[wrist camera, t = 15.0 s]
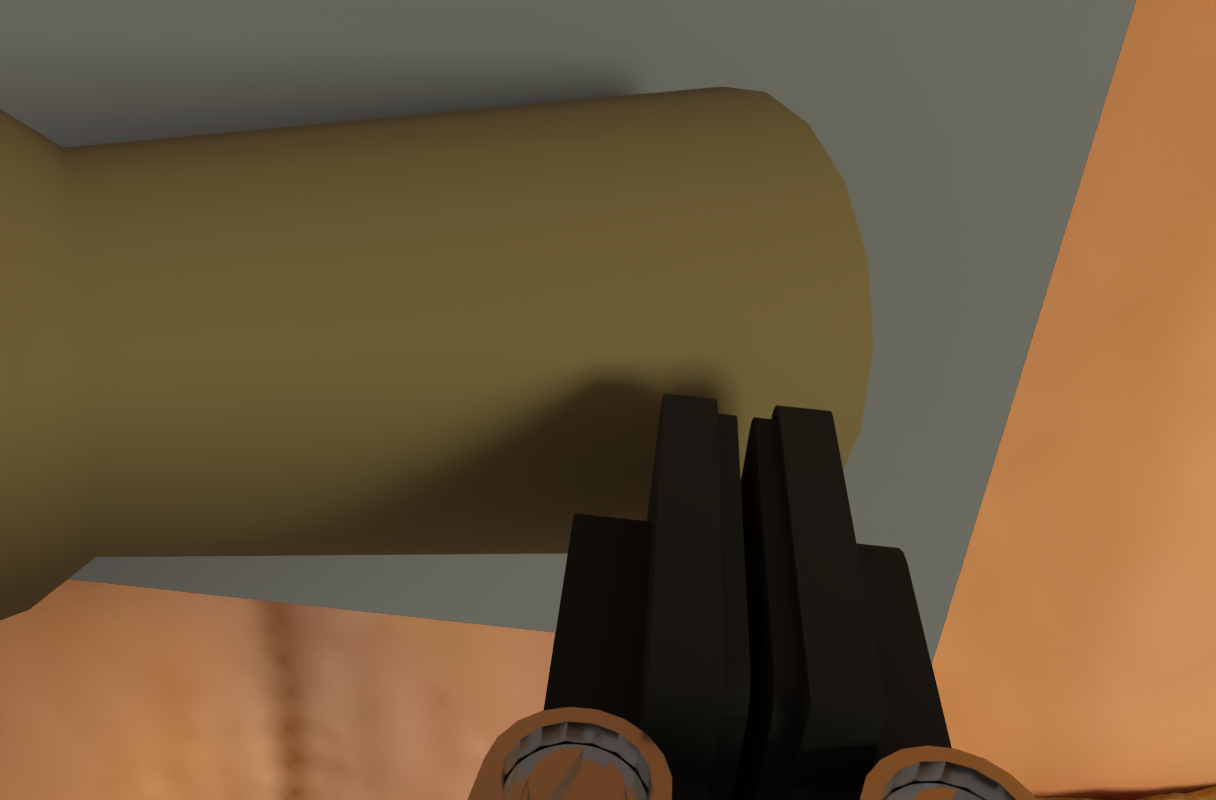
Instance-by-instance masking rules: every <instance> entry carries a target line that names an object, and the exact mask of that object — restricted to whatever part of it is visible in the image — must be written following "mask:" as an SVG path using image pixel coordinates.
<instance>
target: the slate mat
mask: <svg viewBox="0 0 1216 800" xmlns="http://www.w3.org/2000/svg"><path fill="white" fill-rule="evenodd" d="M1135 2H1136V0H0V109H1V110H3V111H4V112H6V113H7V114H9V115H11V116H12V117H14V118H16V119H17V120H19V121H20V122H22V123H24V124H25V125H27V126H28V127H30V128H32V129H33V130H35V131H36V132H38V133H40V134H41V135H43V136H44V137H46V138H48V139H49V140H51V141H53V142H54V143H56V144H57V145H59V146H61V147H62V148H66V147H76V146H87V145H98V144H109V143H119V142H130V141H141V140H152V139H162V138H173V137H184V136H195V135H206V134H216V133H227V132H238V131H249V130H259V129H270V128H281V127H292V126H302V125H313V124H324V123H335V122H345V121H356V120H367V119H378V118H389V117H399V116H410V115H421V114H432V113H442V112H453V111H464V110H475V109H485V108H496V107H507V106H518V105H528V104H539V103H550V102H561V101H572V100H582V99H593V98H604V97H615V96H625V95H636V94H647V93H658V92H668V91H679V90H690V89H701V88H711V87H730V88H739V89H747V90H755V91H763V92H767V93H768V94H769V95H771V96H772V97H773V98H775V99H776V100H777V101H779V102H780V103H781V104H783V105H784V106H785V107H787V108H788V109H789V110H791V111H792V112H793V113H795V114H796V115H798V116H799V117H800V118H802V119H803V120H804V121H806V122H807V123H808V124H809V125H810V127H811V129H812V130H813V132H814V133H815V135H816V137H817V138H818V140H819V141H820V143H821V145H822V146H823V148H824V149H825V151H826V153H827V154H828V156H829V157H830V159H831V161H832V162H833V164H834V165H835V167H836V169H837V170H838V172H839V173H840V175H841V177H842V178H843V180H844V181H845V185H846V188H847V191H848V195H849V198H850V202H851V205H852V208H853V212H854V215H855V218H856V222H857V225H858V229H859V232H860V235H861V239H862V242H863V245H864V249H865V252H866V256H867V259H868V272H869V287H870V302H871V317H872V332H873V352H872V359H871V365H870V372H869V379H868V385H867V392H866V399H865V405H864V412H863V419H862V425H861V430H860V432H859V434H858V437H857V439H856V441H855V444H854V446H853V449H852V451H851V453H850V456H849V458H848V460H847V463H846V465H845V468H844V470H843V472H844V478H845V483H846V489H847V494H848V499H849V505H850V510H851V516H852V521H853V526H854V532H855V537H856V543H858V544H867V545H877V546H886V547H895V548H899V549H901V550H902V551H903V552H904V555H905V558H906V560H907V563H908V567H909V572H910V576H911V580H912V584H913V588H914V593H915V597H916V601H917V605H918V609H919V613H920V618H921V622H922V626H923V630H924V634H925V639H926V643H927V647H928V651H929V655H930V660H931V664H932V662H933V659H934V655H935V652H936V649H937V646H938V642H939V639H940V636H941V633H942V629H943V626H944V623H945V620H946V616H947V613H948V610H949V607H950V603H951V600H952V597H953V594H954V590H955V587H956V584H957V581H958V577H959V574H960V571H961V568H962V564H963V561H964V558H965V555H966V551H967V548H968V545H969V542H970V538H971V535H972V532H973V529H974V525H975V522H976V519H977V516H978V512H979V509H980V506H981V503H982V499H983V496H984V493H985V490H986V486H987V483H988V480H989V477H990V473H991V470H992V467H993V464H994V460H995V457H996V454H997V451H998V447H999V444H1000V441H1001V438H1002V434H1003V431H1004V428H1005V425H1006V421H1007V418H1008V415H1009V412H1010V408H1011V405H1012V402H1013V399H1014V395H1015V392H1016V389H1017V386H1018V382H1019V379H1020V376H1021V373H1022V369H1023V366H1024V363H1025V360H1026V357H1027V353H1028V350H1029V347H1030V344H1031V340H1032V337H1033V334H1034V331H1035V327H1036V324H1037V321H1038V318H1039V314H1040V311H1041V308H1042V305H1043V301H1044V298H1045V295H1046V292H1047V288H1048V285H1049V282H1050V279H1051V275H1052V272H1053V269H1054V266H1055V262H1056V259H1057V256H1058V253H1059V249H1060V246H1061V243H1062V240H1063V236H1064V233H1065V230H1066V227H1067V223H1068V220H1069V217H1070V214H1071V210H1072V207H1073V204H1074V201H1075V197H1076V194H1077V191H1078V188H1079V184H1080V181H1081V178H1082V175H1083V171H1084V168H1085V165H1086V162H1087V158H1088V155H1089V152H1090V149H1091V145H1092V142H1093V139H1094V136H1095V132H1096V129H1097V126H1098V123H1099V119H1100V116H1101V113H1102V110H1103V106H1104V103H1105V100H1106V97H1107V93H1108V90H1109V87H1110V84H1111V80H1112V77H1113V74H1114V71H1115V67H1116V64H1117V61H1118V58H1119V54H1120V51H1121V48H1122V45H1123V41H1124V38H1125V35H1126V32H1127V28H1128V25H1129V22H1130V19H1131V15H1132V12H1133V9H1134V6H1135ZM566 561H567V554H442V555H311V556H179V557H95V558H94V559H93V560H92V561H90V562H89V563H88V564H86V565H85V566H84V567H83V568H81V569H80V570H79V571H78V572H76V573H75V574H74V575H72V576H71V577H70V578H69V579H73V580H82V581H91V582H101V583H110V584H119V585H128V586H137V587H146V588H155V589H164V590H173V591H182V592H191V593H200V594H209V595H219V596H228V597H237V598H246V599H255V600H264V601H273V602H282V603H291V604H300V605H309V606H318V607H327V608H336V609H346V610H355V611H364V612H373V613H382V614H391V615H400V616H409V617H418V618H427V619H436V620H445V621H454V622H463V623H473V624H482V625H491V626H500V627H509V628H518V629H527V630H536V631H545V632H554V633H556V627H557V620H558V613H559V607H560V600H561V594H562V587H563V581H564V574H565V568H566Z"/></svg>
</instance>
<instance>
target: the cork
mask: <svg viewBox="0 0 1216 800" xmlns="http://www.w3.org/2000/svg"><path fill="white" fill-rule="evenodd" d="M872 352H873V332H872V317H871V302H870V287H869V272H868V259H867V256H866V252H865V249H864V245H863V242H862V239H861V235H860V232H859V229H858V225H857V222H856V218H855V215H854V212H853V208H852V205H851V202H850V198H849V195H848V191H847V188H846V185H845V181H844V180H843V178H842V177H841V175H840V173H839V172H838V170H837V169H836V167H835V165H834V164H833V162H832V161H831V159H830V157H829V156H828V154H827V153H826V151H825V149H824V148H823V146H822V145H821V143H820V141H819V140H818V138H817V137H816V135H815V133H814V132H813V130H812V129H811V127H810V125H809V124H808V123H807V122H806V121H804V120H803V119H802V118H800V117H799V116H798V115H796V114H795V113H793V112H792V111H791V110H789V109H788V108H787V107H785V106H784V105H783V104H781V103H780V102H779V101H777V100H776V99H775V98H773V97H772V96H771V95H769V94H768V93H767V92H763V91H755V90H747V89H739V88H730V87H711V88H701V89H690V90H679V91H668V92H658V93H647V94H636V95H625V96H615V97H604V98H593V99H582V100H572V101H561V102H550V103H539V104H528V105H518V106H507V107H496V108H485V109H475V110H464V111H453V112H442V113H432V114H421V115H410V116H399V117H389V118H378V119H367V120H356V121H345V122H335V123H324V124H313V125H302V126H292V127H281V128H270V129H259V130H249V131H238V132H227V133H216V134H206V135H195V136H184V137H173V138H162V139H152V140H141V141H130V142H119V143H109V144H98V145H87V146H76V147H66V148H62V147H61V146H59V145H57V144H56V143H54V142H53V141H51V140H49V139H48V138H46V137H44V136H43V135H41V134H40V133H38V132H36V131H35V130H33V129H32V128H30V127H28V126H27V125H25V124H24V123H22V122H20V121H19V120H17V119H16V118H14V117H12V116H11V115H9V114H7V113H6V112H4V111H3V110H1V109H0V620H2V619H5V618H8V617H11V616H13V615H16V614H19V613H21V612H24V611H27V610H29V609H30V608H32V607H33V606H34V605H36V604H37V603H38V602H39V601H41V600H42V599H43V598H44V597H46V596H47V595H48V594H50V593H51V592H52V591H53V590H55V589H56V588H57V587H58V586H60V585H61V584H62V583H64V582H65V581H66V580H67V579H69V578H70V577H71V576H72V575H74V574H75V573H76V572H78V571H79V570H80V569H81V568H83V567H84V566H85V565H86V564H88V563H89V562H90V561H92V560H93V559H94V558H95V557H179V556H311V555H442V554H568V548H569V541H570V535H571V528H572V522H573V517H574V513H575V514H584V515H594V516H603V517H613V518H622V519H632V520H641V521H647V514H648V506H649V498H650V490H651V482H652V474H653V466H654V458H655V450H656V441H657V433H658V425H659V417H660V409H661V402H662V396H663V393H664V394H674V395H684V396H693V397H703V398H712V399H717V404H718V414H728V415H736V416H737V420H738V439H739V458H740V478H741V477H742V471H743V465H744V459H745V454H746V448H747V442H748V436H749V431H750V426H751V422H752V419H753V417H756V418H766V419H771V417H772V413H773V410H774V408H775V406H776V405H779V406H789V407H798V408H808V409H818V410H827V411H831V412H832V415H833V418H834V424H835V429H836V434H837V440H838V445H839V451H840V456H841V461H842V467H843V470H844V468H845V465H846V463H847V460H848V458H849V456H850V453H851V451H852V449H853V446H854V444H855V441H856V439H857V437H858V434H859V432H860V430H861V425H862V419H863V412H864V405H865V399H866V392H867V385H868V379H869V372H870V365H871V359H872Z"/></svg>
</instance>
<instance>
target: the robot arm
mask: <svg viewBox="0 0 1216 800" xmlns="http://www.w3.org/2000/svg"><path fill="white" fill-rule="evenodd" d="M468 800H1036V798H1035V797H1034V795H1033V794H1032V793H1030V792H1029V791H1028V790H1027V789H1026V788H1025V787H1024V786H1023V785H1022V784H1021V783H1020V782H1019V781H1018V780H1016V779H1015V778H1014V777H1013V776H1012V775H1011V774H1009V773H1008V772H1006V771H1004V770H1003V769H1001V768H999V767H998V766H996V765H994V764H993V763H991V762H989V761H987V760H986V759H984V758H981V757H978V756H975V755H972V754H970V753H967V752H964V751H961V750H958V749H954V748H952V747H951V743H950V739H949V735H948V731H947V727H946V722H945V718H944V714H943V710H942V706H941V701H940V697H939V693H938V689H937V685H936V680H935V676H934V672H933V668H932V664H931V660H930V655H929V651H928V647H927V643H926V639H925V634H924V630H923V626H922V622H921V618H920V613H919V609H918V605H917V601H916V597H915V593H914V588H913V584H912V580H911V576H910V572H909V567H908V563H907V560H906V558H905V555H904V552H903V551H902V550H901V549H899V548H895V547H886V546H877V545H867V544H858V543H856V537H855V532H854V526H853V521H852V516H851V510H850V505H849V499H848V494H847V489H846V483H845V478H844V472H843V467H842V461H841V456H840V451H839V445H838V440H837V434H836V429H835V424H834V418H833V415H832V412H831V411H827V410H818V409H808V408H798V407H789V406H779V405H776V406H775V408H774V410H773V413H772V417H771V419H766V418H756V417H753V419H752V422H751V426H750V431H749V436H748V442H747V448H746V454H745V459H744V465H743V471H742V477H741V478H740V458H739V439H738V420H737V416H736V415H728V414H718V404H717V399H712V398H703V397H693V396H684V395H674V394H664V393H663V396H662V402H661V409H660V417H659V425H658V433H657V441H656V450H655V458H654V466H653V474H652V482H651V490H650V498H649V506H648V514H647V521H641V520H632V519H622V518H613V517H603V516H594V515H584V514H575V513H574V517H573V522H572V528H571V535H570V541H569V548H568V554H567V561H566V568H565V574H564V581H563V587H562V594H561V600H560V607H559V613H558V620H557V627H556V633H555V640H554V646H553V653H552V659H551V666H550V672H549V679H548V686H547V692H546V699H545V705H544V710H543V711H540V712H538V713H536V714H533V715H531V716H528V717H526V718H523V719H521V720H519V721H517V722H516V723H514V724H513V725H512V726H511V727H509V728H508V729H507V730H506V731H504V732H503V733H502V734H501V735H499V736H498V737H497V739H496V740H495V742H494V743H493V745H492V747H491V748H490V750H489V751H488V753H487V755H486V756H485V758H484V760H483V762H482V765H481V767H480V770H479V772H478V775H477V777H476V780H475V782H474V785H473V787H472V790H471V792H470V795H469V797H468Z"/></svg>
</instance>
